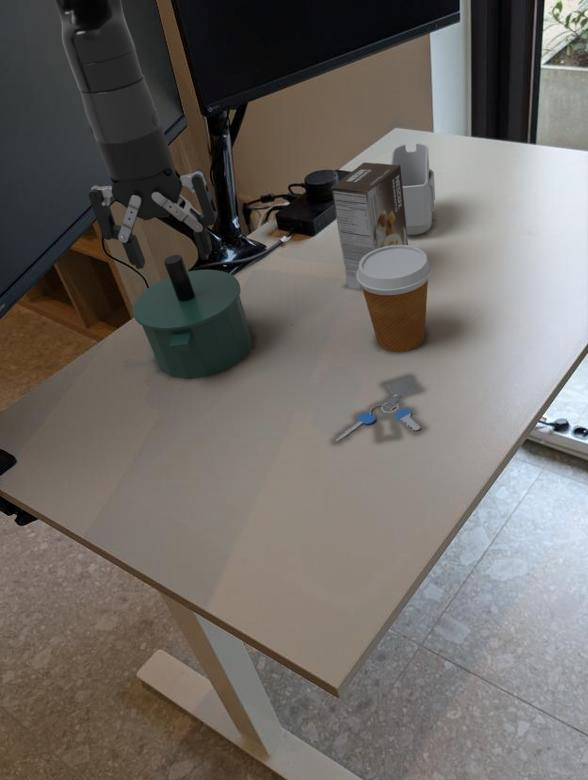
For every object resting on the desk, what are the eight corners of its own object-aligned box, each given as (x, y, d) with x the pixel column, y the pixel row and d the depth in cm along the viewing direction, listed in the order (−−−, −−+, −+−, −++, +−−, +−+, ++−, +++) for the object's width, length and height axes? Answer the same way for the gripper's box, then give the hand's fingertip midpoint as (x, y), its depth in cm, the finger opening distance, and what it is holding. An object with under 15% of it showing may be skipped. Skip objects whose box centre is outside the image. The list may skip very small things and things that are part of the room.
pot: (148, 399, 92) (124, 346, 86) (170, 323, 105) (151, 273, 99) (246, 386, 91) (229, 332, 85) (256, 311, 104) (242, 260, 98)
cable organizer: (396, 246, 113) (388, 173, 105) (399, 213, 122) (393, 143, 113) (436, 243, 112) (432, 168, 104) (437, 210, 121) (433, 139, 112)
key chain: (396, 377, 88) (395, 371, 87) (453, 393, 84) (452, 387, 83) (334, 443, 80) (333, 438, 80) (394, 464, 76) (393, 459, 76)
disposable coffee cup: (354, 341, 95) (340, 262, 86) (409, 315, 98) (402, 235, 89) (392, 372, 89) (382, 289, 80) (450, 343, 92) (446, 260, 83)
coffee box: (376, 262, 110) (364, 160, 99) (411, 268, 107) (402, 164, 96) (346, 290, 105) (329, 186, 94) (382, 297, 102) (368, 191, 91)
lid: (125, 341, 88) (104, 296, 83) (146, 284, 98) (129, 241, 93) (236, 326, 87) (222, 279, 82) (246, 270, 97) (233, 225, 92)
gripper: (193, 107, 79) (230, 241, 90) (75, 125, 79) (126, 255, 91) (184, 129, 73) (224, 268, 85) (56, 148, 74) (113, 283, 85)
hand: (173, 261), depth 88 cm, fingers open, 8 cm apart
